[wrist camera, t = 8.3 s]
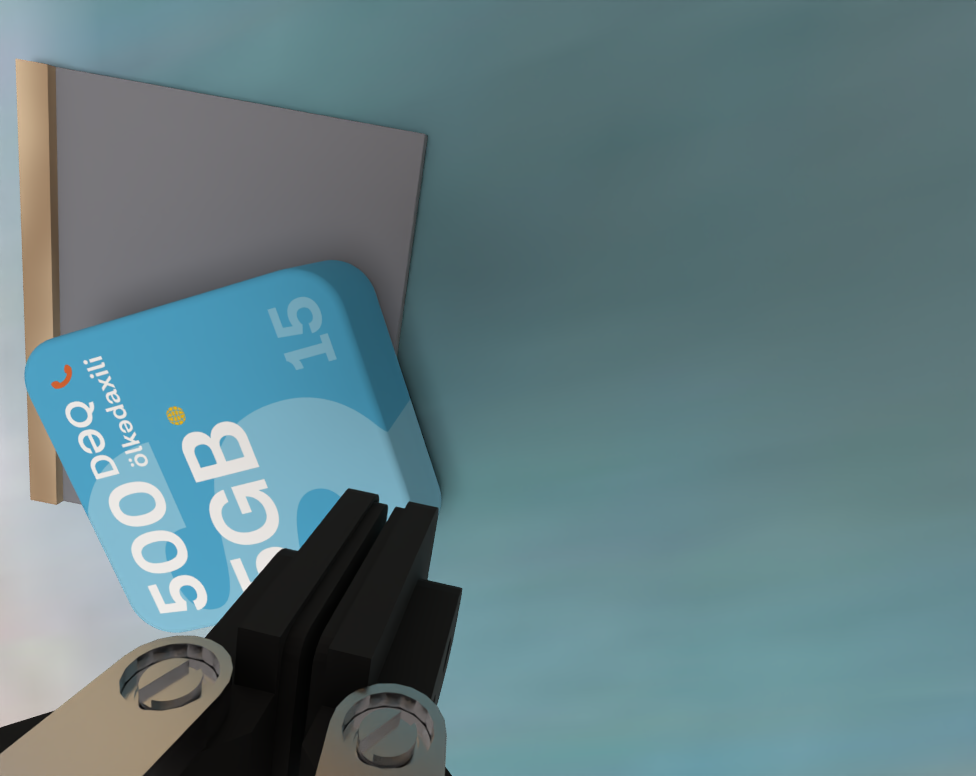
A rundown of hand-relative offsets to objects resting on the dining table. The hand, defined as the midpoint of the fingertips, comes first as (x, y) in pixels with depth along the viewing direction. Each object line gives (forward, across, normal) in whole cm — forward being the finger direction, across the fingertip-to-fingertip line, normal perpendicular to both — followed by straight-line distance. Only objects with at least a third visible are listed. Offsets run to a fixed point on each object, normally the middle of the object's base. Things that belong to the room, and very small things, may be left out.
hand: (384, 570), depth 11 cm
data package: (+12, +3, +1) cm, 12 cm away
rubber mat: (+14, +11, 0) cm, 18 cm away
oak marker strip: (+14, +18, 0) cm, 23 cm away
